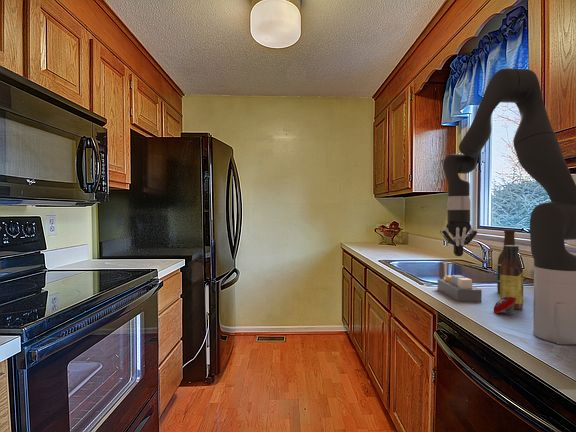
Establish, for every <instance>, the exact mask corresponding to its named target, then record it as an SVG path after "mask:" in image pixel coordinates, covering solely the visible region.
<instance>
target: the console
mask: <svg viewBox="0 0 576 432" xmlns="http://www.w3.org/2000/svg"><path fill="white" fill-rule="evenodd" d="M437 291H439V292H441V293H443V294H444V295H446V296H448V297H449V298H451V299H454V301H456V302H482V296H483V295H482V292H483V291H482V289H480V288H478V287H476V286H474V285H472V289H461V288H459V287H458V285H453V284H451V282H447V281H446V278H445V279H442V278H440V279H439V278H437Z"/></svg>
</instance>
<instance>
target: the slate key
mask: <svg viewBox="0 0 576 432" xmlns="http://www.w3.org/2000/svg"><path fill="white" fill-rule="evenodd" d="M450 276H451V284H453V285H458V278H466V276H463V275H461V274H452V275H450Z"/></svg>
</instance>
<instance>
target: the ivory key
mask: <svg viewBox="0 0 576 432" xmlns="http://www.w3.org/2000/svg"><path fill="white" fill-rule="evenodd" d="M472 286H473V279H471V278H469V277H465V278H458V287H459V288H461V289H472Z"/></svg>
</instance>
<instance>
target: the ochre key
mask: <svg viewBox="0 0 576 432" xmlns="http://www.w3.org/2000/svg"><path fill="white" fill-rule="evenodd" d="M445 279H446V281H447V282H451V275H445Z"/></svg>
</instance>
